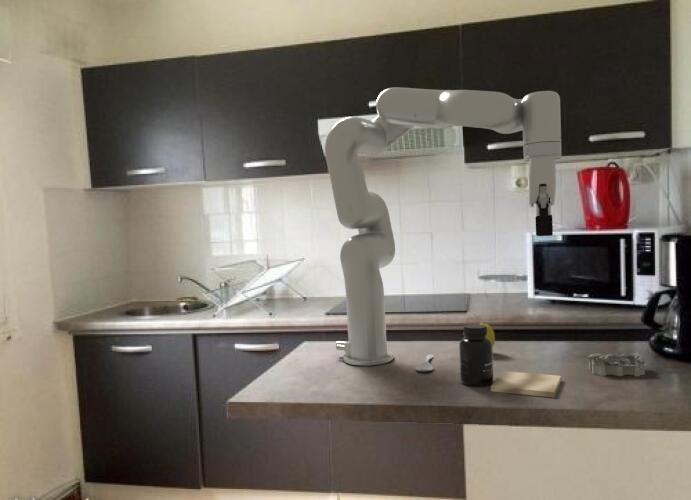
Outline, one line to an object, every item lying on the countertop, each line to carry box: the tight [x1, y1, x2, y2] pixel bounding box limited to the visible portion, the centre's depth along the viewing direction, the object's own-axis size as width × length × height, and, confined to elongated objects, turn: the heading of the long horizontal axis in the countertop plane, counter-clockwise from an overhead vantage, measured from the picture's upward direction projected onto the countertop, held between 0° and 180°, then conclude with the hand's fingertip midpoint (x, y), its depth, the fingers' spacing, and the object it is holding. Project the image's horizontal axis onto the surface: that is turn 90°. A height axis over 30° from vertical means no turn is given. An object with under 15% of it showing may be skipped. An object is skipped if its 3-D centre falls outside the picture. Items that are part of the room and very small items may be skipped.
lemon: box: [480, 321, 496, 347], centre depth 139 cm, size 6×6×8 cm
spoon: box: [415, 354, 435, 373], centre depth 135 cm, size 4×21×2 cm, turn 165°
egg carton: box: [587, 351, 648, 377], centre depth 119 cm, size 11×8×4 cm
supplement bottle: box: [459, 323, 494, 387], centre depth 117 cm, size 7×7×12 cm
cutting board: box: [490, 370, 562, 398], centre depth 113 cm, size 12×11×1 cm
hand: (544, 234), depth 117 cm, fingers open, 9 cm apart
